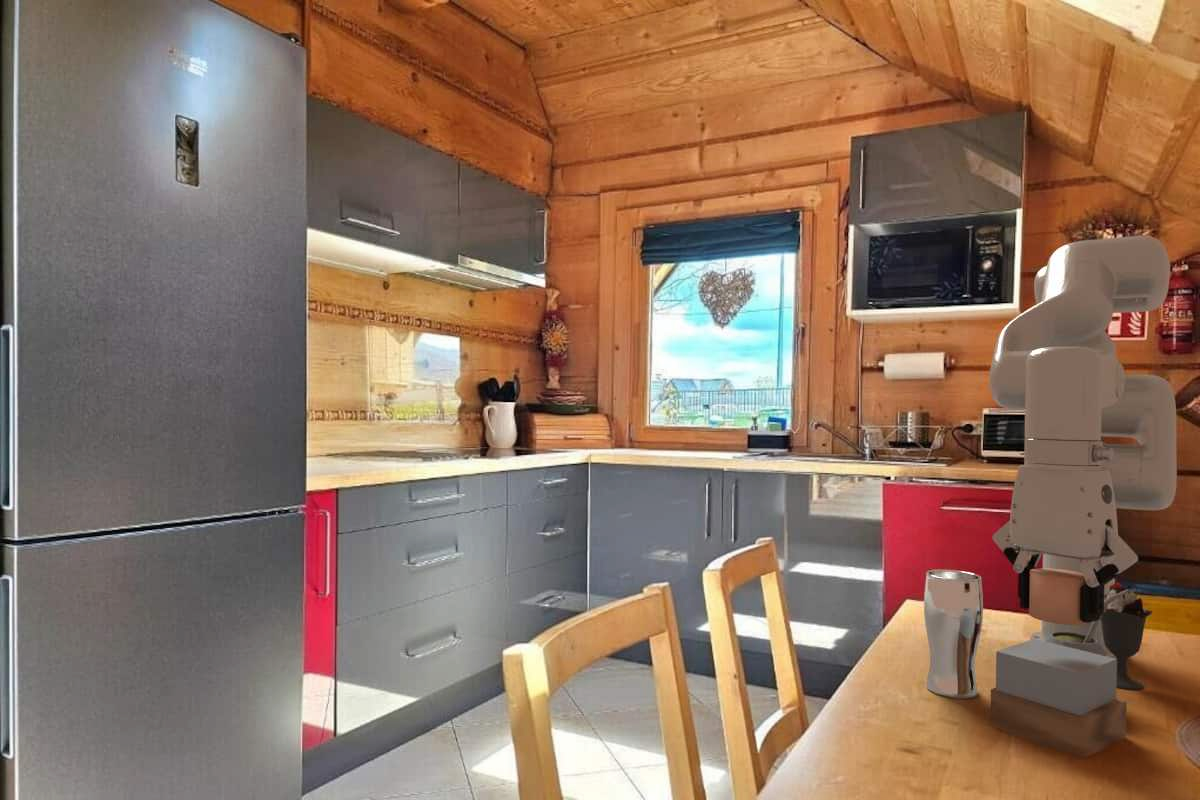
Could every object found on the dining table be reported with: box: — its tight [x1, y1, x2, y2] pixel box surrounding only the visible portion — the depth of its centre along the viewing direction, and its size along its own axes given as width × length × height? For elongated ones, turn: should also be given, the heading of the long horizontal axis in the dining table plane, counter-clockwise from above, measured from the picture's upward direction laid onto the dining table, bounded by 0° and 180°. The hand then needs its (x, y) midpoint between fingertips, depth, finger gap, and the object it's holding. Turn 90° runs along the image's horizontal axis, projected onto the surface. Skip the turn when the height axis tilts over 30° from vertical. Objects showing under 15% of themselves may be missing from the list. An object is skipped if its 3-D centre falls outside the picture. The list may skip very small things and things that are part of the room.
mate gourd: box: [1045, 590, 1128, 656], centre depth 99 cm, size 8×8×15 cm
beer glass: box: [923, 568, 984, 700], centre depth 102 cm, size 7×7×15 cm
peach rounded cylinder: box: [1028, 567, 1089, 625], centre depth 90 cm, size 6×6×5 cm
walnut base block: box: [989, 687, 1127, 760], centre depth 90 cm, size 10×10×4 cm
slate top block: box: [995, 639, 1117, 716], centre depth 90 cm, size 9×9×4 cm
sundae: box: [1101, 576, 1153, 691], centre depth 106 cm, size 7×7×15 cm
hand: (1059, 612), depth 90 cm, fingers closed on peach rounded cylinder, 6 cm apart
